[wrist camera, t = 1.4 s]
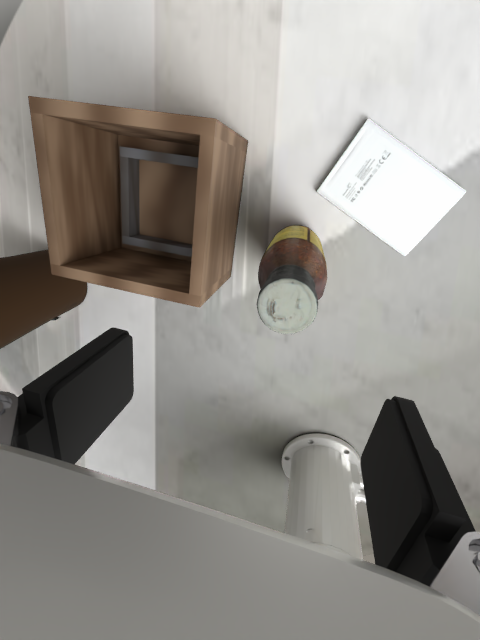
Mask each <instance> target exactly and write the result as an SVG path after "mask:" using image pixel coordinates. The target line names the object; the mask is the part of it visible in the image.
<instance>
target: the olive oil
mask: <svg viewBox="0 0 480 640" xmlns="http://www.w3.org/2000/svg"><path fill="white" fill-rule="evenodd" d="M86 294H87V282H84V281H79V280H75V279H70V278H66V277H61V276H57V275H52V273H51V265H50V258H49V250H43V251H38V252H32V253H27V254H22V255H16V256H10V257H4V258H0V349H1V348H3V347H4V346H6V345H8V344H10V343H11V342H13V341H15V340H17V339H18V338H20V337H22V336H24V335H25V334H27V333H29V332H31V331H32V330H34V329H36V328H38V327H40V326H41V325H43V324H45V323H47V322H49V321H50V320H57V319H58V318H60V317H57V316H59V315H61V314H63V313H65V312H67V311H69V310H71V309H72V308H74V307H76V306H78V305H79V304H81V303H82V302H83V300H84V299H85V297H86Z"/></svg>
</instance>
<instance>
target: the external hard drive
mask: <svg viewBox="0 0 480 640" xmlns="http://www.w3.org/2000/svg"><path fill="white" fill-rule="evenodd" d="M317 192H318V193H319V194H320V195H322V196H323V197H324V198H326V199H327V200H328V201H330V202H331V203H332V204H334V205H335V206H336V207H338V208H339V209H341V210H342V211H343V212H345V213H346V214H347V215H349V216H350V217H351V218H353V219H354V220H355V221H357V222H358V223H359V224H361V225H362V226H364V227H365V228H366V229H368V230H369V231H370V232H372V233H373V234H374V235H376V236H377V237H378V238H380V239H381V240H383V241H384V242H385V243H387V244H388V245H389V246H391V247H392V248H394V249H395V250H396V251H398V252H399V253H400V254H402V255H403V256H406V255H407V254H408V253H409V252H410V251H411V250H412V249H413V248H414V247H415V246H416V245H417V244H418V243H419V242H420V240H421V239H422V238H423V237H424V236H425V235H426V234H427V233H428V232H429V231H430V230H431V229H432V228H433V227H434V226H435V225H436V224H437V222H438V221H440V219H441V218H442V217H443V216H444V215H445V214H446V213H447V212H448V211H449V210H450V209H451V208H452V207H453V206H454V205H455V204H456V203H457V202H458V200H459V199H460V198H461V197H462V196H463V195H464V194H465V193H466V190H464V189H463V188H462V187H460V186H459V185H458V184H456V183H455V182H454V181H452V180H451V179H450V178H448V177H447V176H446V175H444V174H443V173H442V172H440V171H439V170H438V169H436V168H435V167H434V166H432V165H431V164H430V163H428V162H427V161H426V160H424V159H423V158H422V157H420V156H419V155H418V154H416V153H415V152H414V151H412V150H411V149H410V148H408V147H407V146H406V145H404V144H403V143H402V142H400V141H399V140H398V139H396V138H395V137H394V136H392V135H391V134H390V133H388V132H387V131H385V130H384V129H383V128H381V127H380V126H379V125H377V124H376V123H375V122H374V121H372V120H371V119H370V118H368V119H367V121H366V122H365V123H364V125H363V126H362V128H361V129H360V131H359V132H358V133H357V135H356V136H355V138H354V139H353V141H352V142H351V143H350V145H349V146H348V148H347V149H346V151H345V152H344V153H343V155H342V156H341V158H340V159H339V160H338V162H337V163H336V165H335V166H334V167H333V169H332V170H331V172H330V173H329V175H328V176H327V177H326V179H325V180H324V182H323V183H322V184H321V186H320V187H319V189H318V190H317Z"/></svg>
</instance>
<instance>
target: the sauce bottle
mask: <svg viewBox="0 0 480 640" xmlns="http://www.w3.org/2000/svg"><path fill="white" fill-rule="evenodd" d="M258 279H259V284H260V288H261V290H260V292H259V296H258V300H257V309H258V313H259V316H260V318H261V320H262V321H263V323H264V324H265V325H266V326H268V327H269V328H270V329H271V330H273V331H275V332H278V333H282V334H293V333H297V332H300V331H302V330H304V329H305V328H307V327H308V326H309V325H310V324H311V323H312V322H313V321H314V319H315V317H316V314H317V309H318V300H319V299H320V298H321V297H322V295H323V292H324V289H325V285H326V281H327V269H326V261H325V257H324V253H323V249H322V245H321V242H320V240H319V238H318V236H317V235H316V234H315V233H314V232H313V231H312V230H310V229H309V228H307V227H304V226H289V227H286V228H284V229H283V230H281V231H280V232H279V233H277V234H276V235H275V237H274V238H273V240H272V241H271V243H270V245H269V246H268V248H267V250H266V252H265V253H264V255H263V257H262V259H261V262H260V266H259V272H258Z"/></svg>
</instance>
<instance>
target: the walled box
mask: <svg viewBox="0 0 480 640" xmlns="http://www.w3.org/2000/svg"><path fill="white" fill-rule="evenodd" d="M28 98H29V106H30V113H31V121H32V128H33V136H34V144H35V151H36V159H37V166H38V174H39V182H40V189H41V197H42V204H43V212H44V220H45V227H46V235H47V242H48V250H49V258H50V265H51V273H52V275H57V276H61V277H66V278H70V279H75V280H79V281H84V282H88V283H92V284H97V285H101V286H106V287H110V288H115V289H119V290H124V291H128V292H133V293H137V294H142V295H146V296H150V297H155V298H159V299H164V300H168V301H173V302H177V303H182V304H186V305H191V306H195V307H201V306H202V305H203V304H204V303H205V302H206V301H207V300H208V299H209V298H210V297H211V296H212V295H213V294H214V293H215V292H216V291H217V290H218V289H219V288H220V287H221V286H222V285H223V284H224V283H225V282H226V281H227V280H228V279H229V278H230V277H231V270H232V262H233V254H234V247H235V239H236V231H237V223H238V215H239V207H240V200H241V192H242V184H243V176H244V168H245V160H246V153H247V145H248V141H247V140H246V139H245V138H243V137H242V136H240V135H239V134H237V133H236V132H234V131H233V130H232V129H230V128H229V127H227V126H226V125H224V124H223V123H221V122H220V121H219V120H217V119H214V118H206V117H197V116H189V115H181V114H173V113H164V112H156V111H148V110H139V109H131V108H123V107H115V106H106V105H98V104H90V103H82V102H73V101H65V100H57V99H49V98H40V97H32V96H28Z"/></svg>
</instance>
